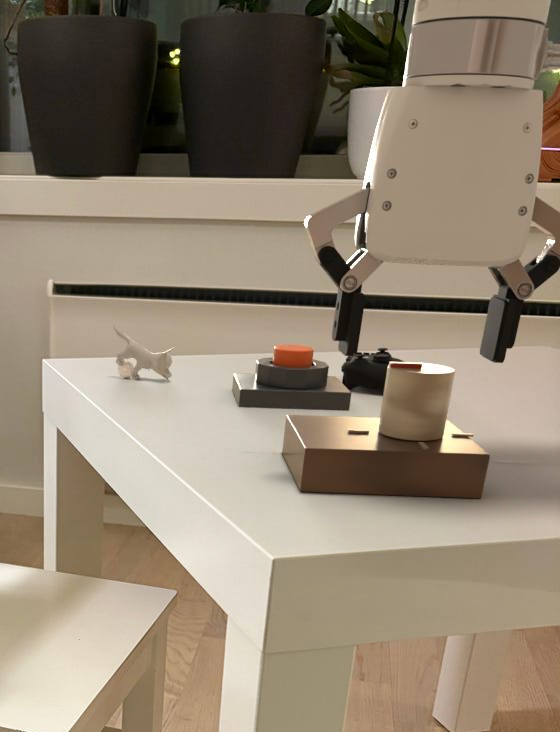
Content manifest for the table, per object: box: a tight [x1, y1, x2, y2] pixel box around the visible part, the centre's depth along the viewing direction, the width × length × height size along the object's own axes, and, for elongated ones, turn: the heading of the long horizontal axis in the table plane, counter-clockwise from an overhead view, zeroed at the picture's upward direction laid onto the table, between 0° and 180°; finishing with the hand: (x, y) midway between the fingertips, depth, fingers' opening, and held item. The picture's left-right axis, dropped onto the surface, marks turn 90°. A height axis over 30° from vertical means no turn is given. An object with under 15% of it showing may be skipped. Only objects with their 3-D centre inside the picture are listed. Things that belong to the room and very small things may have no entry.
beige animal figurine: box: [113, 324, 176, 382], centre depth 99 cm, size 3×8×6 cm
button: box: [272, 344, 315, 367], centre depth 90 cm, size 4×4×2 cm
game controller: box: [340, 347, 406, 392], centre depth 98 cm, size 10×5×7 cm
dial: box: [378, 361, 456, 441], centre depth 67 cm, size 4×4×5 cm
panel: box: [281, 414, 491, 499], centre depth 69 cm, size 12×10×3 cm
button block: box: [231, 356, 352, 412], centre depth 91 cm, size 10×8×4 cm
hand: (418, 356), depth 66 cm, fingers open, 9 cm apart
